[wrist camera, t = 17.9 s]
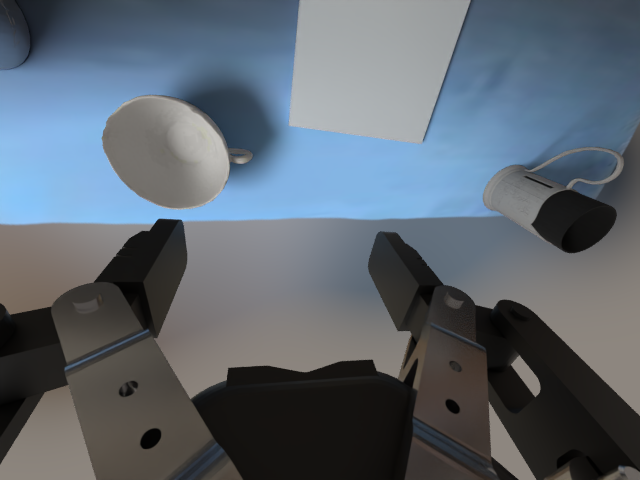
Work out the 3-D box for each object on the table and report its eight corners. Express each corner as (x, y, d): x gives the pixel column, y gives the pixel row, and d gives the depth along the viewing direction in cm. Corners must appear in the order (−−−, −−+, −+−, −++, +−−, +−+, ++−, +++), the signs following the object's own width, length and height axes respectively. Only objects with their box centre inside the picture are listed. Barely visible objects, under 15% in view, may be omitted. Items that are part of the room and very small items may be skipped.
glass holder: (474, 209, 50) (543, 256, 37) (513, 128, 42) (615, 154, 30) (513, 211, 51) (591, 257, 39) (557, 134, 44) (670, 160, 32)
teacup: (146, 184, 38) (120, 209, 31) (122, 83, 31) (82, 87, 25) (254, 189, 41) (252, 213, 34) (253, 98, 34) (250, 105, 28)
